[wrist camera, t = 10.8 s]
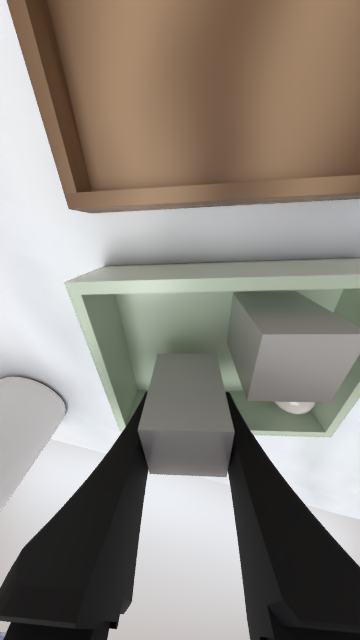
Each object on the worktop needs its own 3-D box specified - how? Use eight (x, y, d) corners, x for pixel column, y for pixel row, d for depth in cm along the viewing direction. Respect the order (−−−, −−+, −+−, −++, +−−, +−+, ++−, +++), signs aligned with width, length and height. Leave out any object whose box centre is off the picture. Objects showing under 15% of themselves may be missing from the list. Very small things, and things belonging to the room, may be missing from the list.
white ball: (305, 363, 13) (334, 396, 11) (294, 389, 15) (317, 423, 12) (267, 363, 14) (286, 395, 11) (260, 388, 15) (275, 422, 12)
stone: (216, 353, 11) (234, 431, 7) (213, 393, 13) (226, 477, 8) (157, 353, 11) (137, 430, 7) (163, 393, 13) (149, 473, 9)
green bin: (358, 257, 10) (449, 271, 7) (299, 391, 16) (331, 437, 12) (104, 266, 11) (64, 282, 8) (134, 388, 17) (119, 430, 13)
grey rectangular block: (295, 291, 11) (371, 334, 6) (280, 342, 12) (330, 402, 8) (232, 293, 11) (262, 334, 6) (226, 342, 13) (246, 400, 8)
